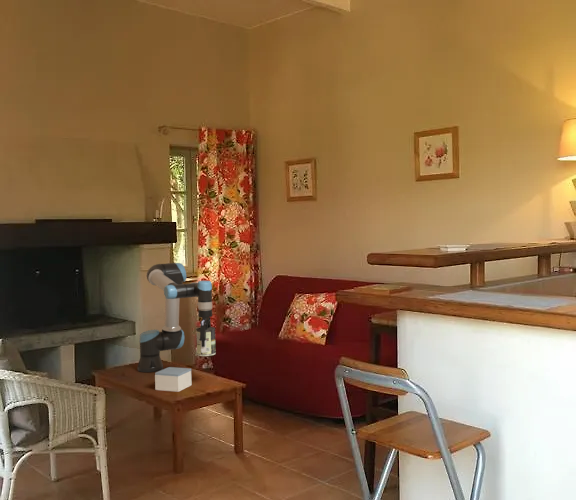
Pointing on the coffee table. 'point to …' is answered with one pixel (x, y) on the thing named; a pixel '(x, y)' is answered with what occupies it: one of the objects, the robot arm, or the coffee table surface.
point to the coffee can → (207, 342)
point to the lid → (173, 371)
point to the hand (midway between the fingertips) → (206, 350)
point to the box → (173, 382)
